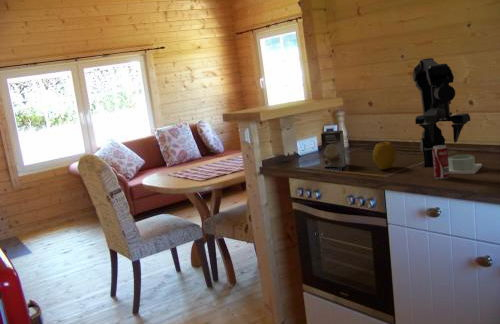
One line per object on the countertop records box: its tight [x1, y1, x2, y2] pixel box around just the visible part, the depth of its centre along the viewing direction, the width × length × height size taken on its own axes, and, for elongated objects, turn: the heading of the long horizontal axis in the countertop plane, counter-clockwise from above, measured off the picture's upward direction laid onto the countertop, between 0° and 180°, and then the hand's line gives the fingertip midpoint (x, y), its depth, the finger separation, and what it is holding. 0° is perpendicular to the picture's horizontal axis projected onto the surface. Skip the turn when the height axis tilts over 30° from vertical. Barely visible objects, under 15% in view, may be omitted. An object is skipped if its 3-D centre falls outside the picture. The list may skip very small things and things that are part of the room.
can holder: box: [448, 154, 483, 175], centre depth 199 cm, size 12×12×5 cm
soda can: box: [432, 144, 450, 180], centre depth 191 cm, size 5×5×12 cm
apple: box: [372, 141, 397, 170], centre depth 218 cm, size 10×10×12 cm
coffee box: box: [320, 130, 347, 168], centre depth 237 cm, size 9×6×16 cm
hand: (443, 142), depth 190 cm, fingers open, 9 cm apart
